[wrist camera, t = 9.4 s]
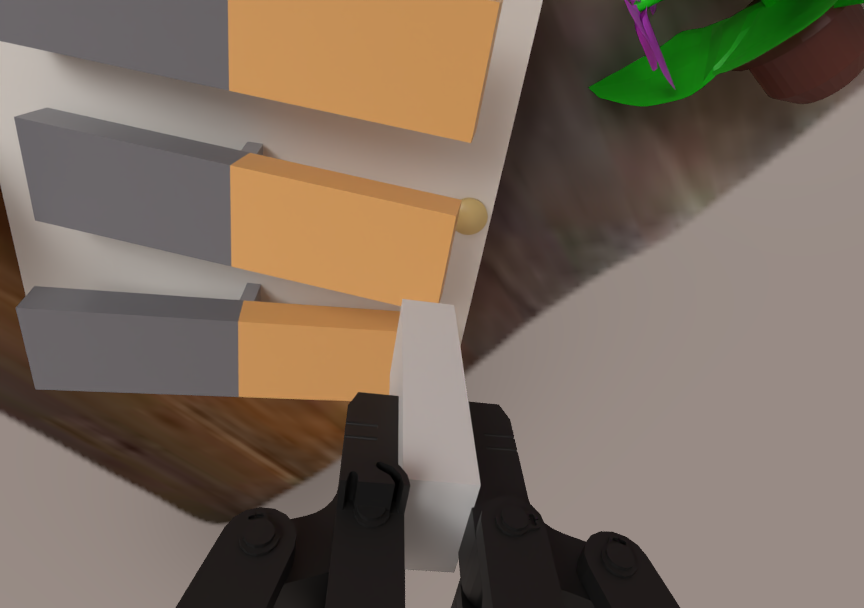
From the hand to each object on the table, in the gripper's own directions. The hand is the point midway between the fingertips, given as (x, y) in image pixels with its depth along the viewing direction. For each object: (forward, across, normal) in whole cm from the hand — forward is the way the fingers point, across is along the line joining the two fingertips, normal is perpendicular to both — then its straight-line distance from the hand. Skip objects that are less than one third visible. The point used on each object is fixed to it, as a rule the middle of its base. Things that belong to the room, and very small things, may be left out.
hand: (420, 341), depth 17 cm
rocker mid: (+7, -7, 0) cm, 9 cm away
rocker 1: (+7, -7, +7) cm, 12 cm away
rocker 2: (+7, -7, -6) cm, 11 cm away
